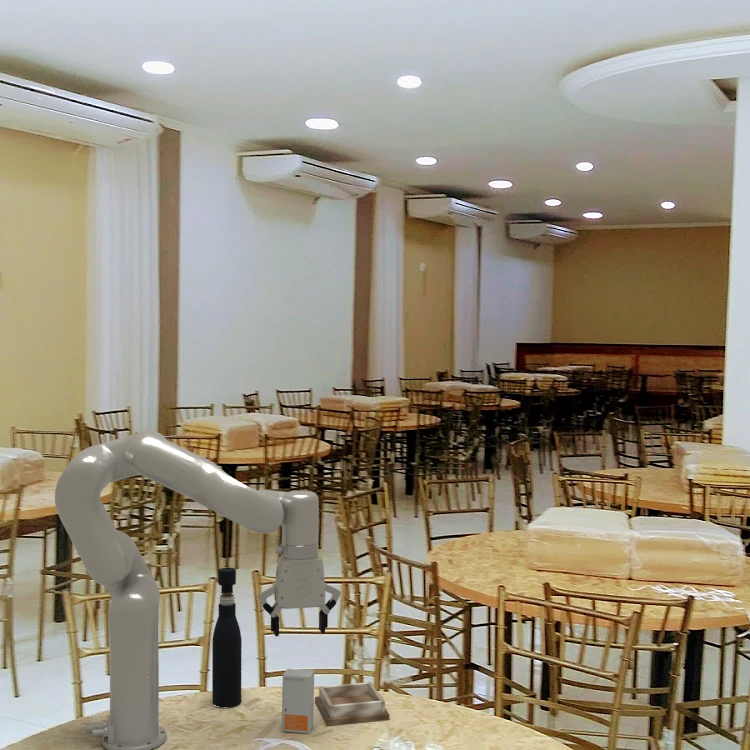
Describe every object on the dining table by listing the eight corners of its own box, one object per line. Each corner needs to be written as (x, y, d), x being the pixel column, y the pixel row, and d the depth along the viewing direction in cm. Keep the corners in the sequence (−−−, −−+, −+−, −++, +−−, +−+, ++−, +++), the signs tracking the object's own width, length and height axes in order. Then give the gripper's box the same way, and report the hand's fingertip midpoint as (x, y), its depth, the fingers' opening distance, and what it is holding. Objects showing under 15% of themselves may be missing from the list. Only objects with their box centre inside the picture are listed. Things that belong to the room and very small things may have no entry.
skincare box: (281, 732, 193) (281, 675, 192) (286, 724, 197) (286, 668, 196) (310, 734, 192) (310, 676, 191) (314, 726, 196) (314, 669, 196)
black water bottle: (235, 709, 205) (235, 573, 204) (207, 706, 206) (208, 572, 205) (245, 698, 211) (245, 566, 210) (218, 696, 212) (218, 565, 211)
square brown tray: (327, 725, 196) (327, 708, 196) (314, 702, 209) (314, 685, 209) (389, 719, 199) (389, 702, 199) (373, 696, 213) (373, 680, 212)
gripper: (260, 557, 188) (260, 641, 188) (344, 553, 192) (343, 635, 192) (256, 549, 195) (255, 630, 195) (336, 545, 199) (336, 625, 200)
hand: (299, 633), depth 194 cm, fingers open, 9 cm apart
